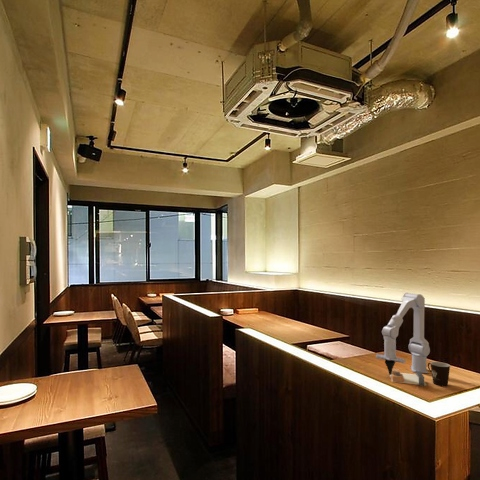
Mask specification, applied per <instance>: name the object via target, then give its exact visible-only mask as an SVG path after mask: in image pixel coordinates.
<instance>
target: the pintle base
mask: <svg viewBox="0 0 480 480" xmlns="http://www.w3.org/2000/svg"><path fill="white" fill-rule="evenodd" d="M395 373H396V376H399V374H402V375H403V377H404V382H398V381H393V380H392V375H389V377H390V380H391V382H392V383H400V384H409V385H416V386H417V385H418V386H419V382H418V377H417V375H416V373H405V372H400V371H399V372H395ZM424 386H427V383H426V382H425V381H424Z"/></svg>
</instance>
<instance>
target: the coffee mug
mask: <svg viewBox="0 0 480 480" xmlns="http://www.w3.org/2000/svg"><path fill="white" fill-rule="evenodd" d="M427 368H428V369H427V370H429V372H430V373H431V375H432V376H431V377H432V383H433V385H435V386H439V387H446V388H447V387H448V386H449V377H450V368H451V365H450V364H449V363H446V362H441V361H431V362H429V363H427Z"/></svg>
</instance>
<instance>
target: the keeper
mask: <svg viewBox="0 0 480 480" xmlns="http://www.w3.org/2000/svg"><path fill="white" fill-rule="evenodd" d="M415 374H416V375H417V377H418V382H419V385H418V386H419V387H425V385H424V382H425V376H424V375H423V373H421V372H420V371H416V372H415Z"/></svg>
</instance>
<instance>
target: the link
mask: <svg viewBox="0 0 480 480" xmlns="http://www.w3.org/2000/svg"><path fill="white" fill-rule="evenodd" d="M395 372H400V369H399V368H398V367H393V369H392V373H391V375H392V380H393V381H398V382H397V383H399V382H404V377H403V375H402V374H399V376H396V373H395ZM392 380H391V381H392Z"/></svg>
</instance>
